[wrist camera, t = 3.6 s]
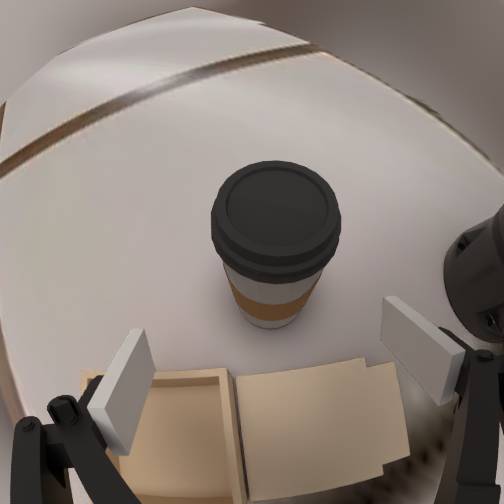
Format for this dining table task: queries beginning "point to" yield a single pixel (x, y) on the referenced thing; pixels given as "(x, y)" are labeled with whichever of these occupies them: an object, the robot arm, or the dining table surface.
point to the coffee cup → (274, 237)
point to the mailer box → (263, 433)
